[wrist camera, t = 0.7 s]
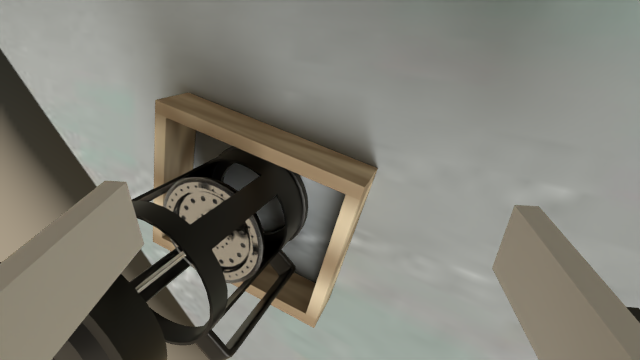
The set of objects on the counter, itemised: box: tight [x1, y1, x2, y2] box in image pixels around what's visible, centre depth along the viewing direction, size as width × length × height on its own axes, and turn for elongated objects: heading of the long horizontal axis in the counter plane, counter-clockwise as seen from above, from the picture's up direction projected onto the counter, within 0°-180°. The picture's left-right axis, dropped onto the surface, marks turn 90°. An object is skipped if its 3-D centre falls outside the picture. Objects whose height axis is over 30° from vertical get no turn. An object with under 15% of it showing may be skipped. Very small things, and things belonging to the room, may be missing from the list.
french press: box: [52, 146, 308, 360], centre depth 20 cm, size 12×9×23 cm
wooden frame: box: [153, 93, 378, 328], centre depth 28 cm, size 14×17×4 cm
